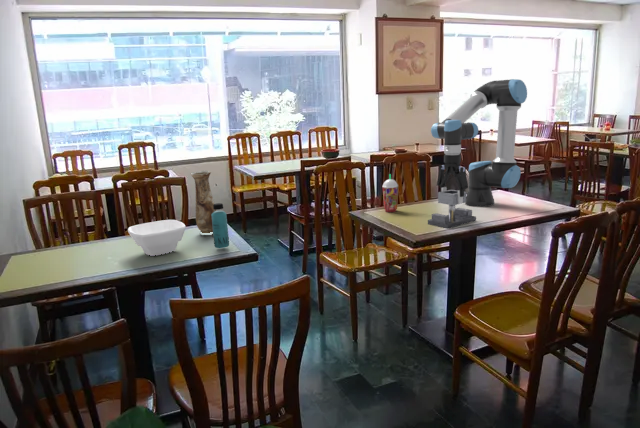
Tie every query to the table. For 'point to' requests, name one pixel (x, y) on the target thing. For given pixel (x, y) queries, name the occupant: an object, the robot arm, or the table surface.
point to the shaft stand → (452, 218)
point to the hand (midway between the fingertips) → (451, 202)
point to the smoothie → (390, 195)
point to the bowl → (158, 236)
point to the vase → (203, 201)
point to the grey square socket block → (450, 197)
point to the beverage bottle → (220, 227)
